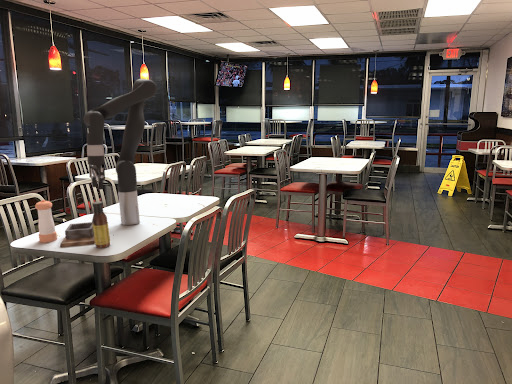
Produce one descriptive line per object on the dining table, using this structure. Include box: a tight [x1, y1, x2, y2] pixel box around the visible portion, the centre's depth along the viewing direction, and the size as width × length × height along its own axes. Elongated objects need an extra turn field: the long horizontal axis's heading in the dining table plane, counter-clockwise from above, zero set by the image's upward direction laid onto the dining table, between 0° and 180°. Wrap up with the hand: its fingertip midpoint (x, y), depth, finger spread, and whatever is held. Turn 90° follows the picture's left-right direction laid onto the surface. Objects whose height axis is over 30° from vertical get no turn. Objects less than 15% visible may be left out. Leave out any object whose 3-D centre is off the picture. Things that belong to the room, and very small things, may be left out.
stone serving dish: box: [59, 221, 95, 248], centre depth 189 cm, size 14×20×6 cm
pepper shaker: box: [34, 199, 58, 244], centre depth 187 cm, size 7×7×19 cm
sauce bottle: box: [91, 200, 111, 249], centre depth 176 cm, size 6×6×20 cm
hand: (97, 188), depth 196 cm, fingers open, 8 cm apart
